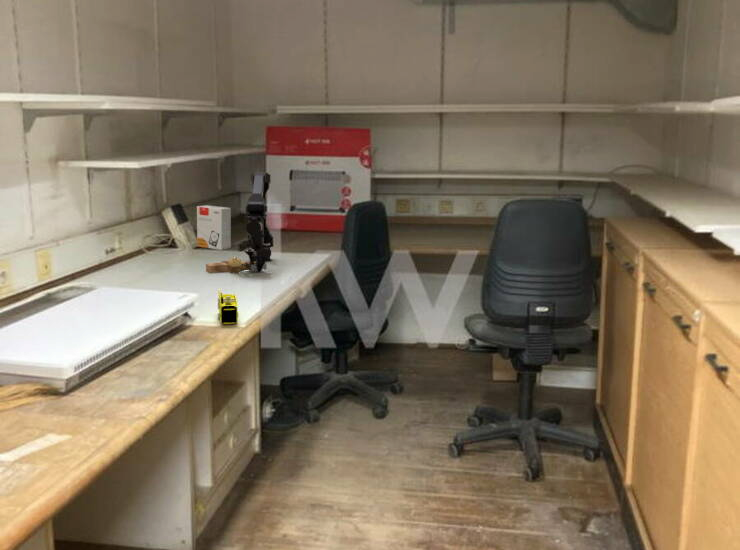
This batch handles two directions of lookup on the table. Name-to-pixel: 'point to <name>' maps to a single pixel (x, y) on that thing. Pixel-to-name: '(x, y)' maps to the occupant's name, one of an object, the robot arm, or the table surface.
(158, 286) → the table surface
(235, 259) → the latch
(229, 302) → the yellow toy chassis
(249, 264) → the cap plate
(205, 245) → the hard drive box
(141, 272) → the table surface
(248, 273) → the mat
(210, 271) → the plane body
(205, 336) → the table surface
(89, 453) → the table surface
